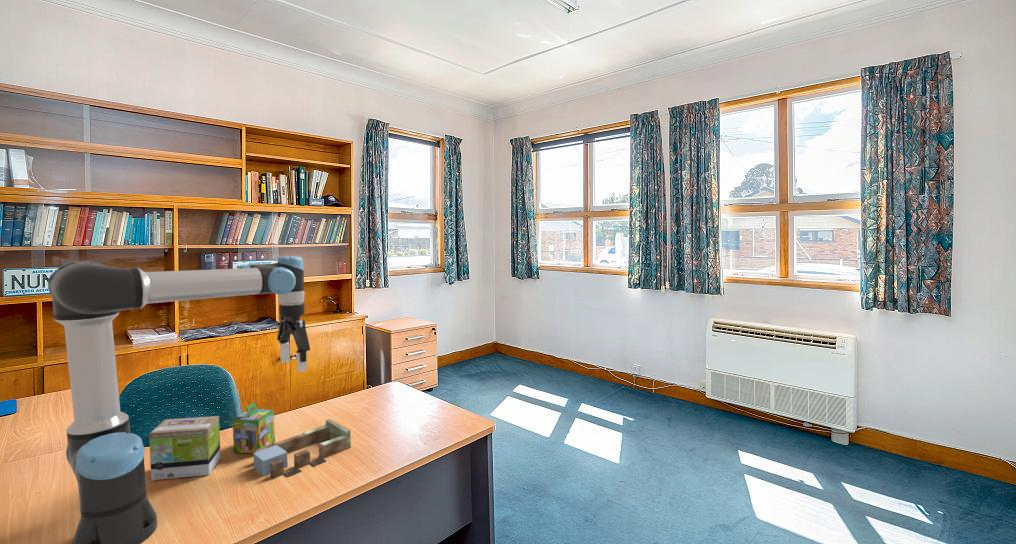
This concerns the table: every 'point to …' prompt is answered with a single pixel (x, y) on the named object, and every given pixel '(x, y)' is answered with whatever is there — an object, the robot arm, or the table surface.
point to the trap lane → (327, 448)
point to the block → (269, 459)
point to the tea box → (184, 447)
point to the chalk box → (253, 429)
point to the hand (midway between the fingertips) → (293, 366)
